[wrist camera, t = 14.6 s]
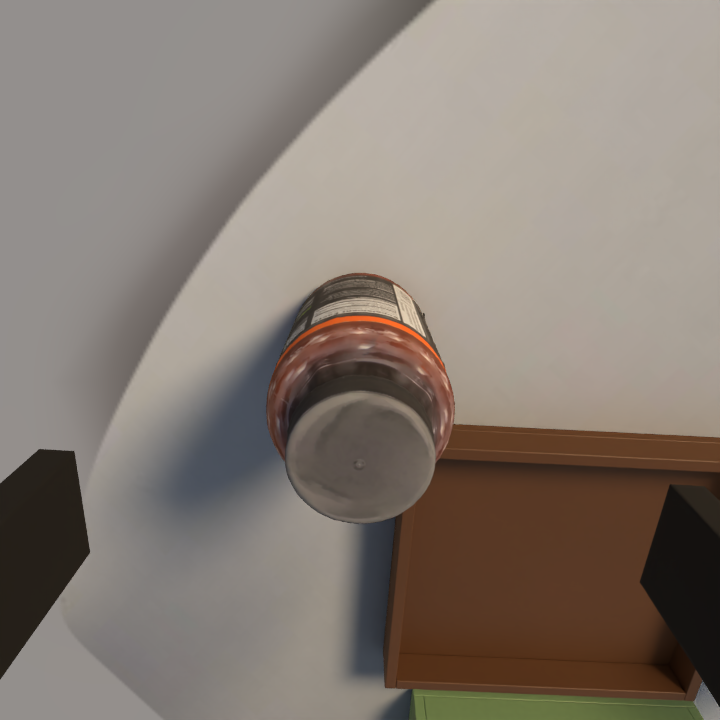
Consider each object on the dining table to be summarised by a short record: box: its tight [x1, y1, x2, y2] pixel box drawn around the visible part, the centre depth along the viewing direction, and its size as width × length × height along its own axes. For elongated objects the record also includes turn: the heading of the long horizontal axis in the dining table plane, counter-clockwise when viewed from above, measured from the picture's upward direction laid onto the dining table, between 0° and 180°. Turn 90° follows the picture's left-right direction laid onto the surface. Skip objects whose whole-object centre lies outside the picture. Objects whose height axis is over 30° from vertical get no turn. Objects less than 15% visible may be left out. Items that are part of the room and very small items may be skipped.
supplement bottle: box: [266, 273, 455, 524], centre depth 19 cm, size 6×6×11 cm
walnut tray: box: [383, 424, 720, 701], centre depth 28 cm, size 17×15×2 cm
